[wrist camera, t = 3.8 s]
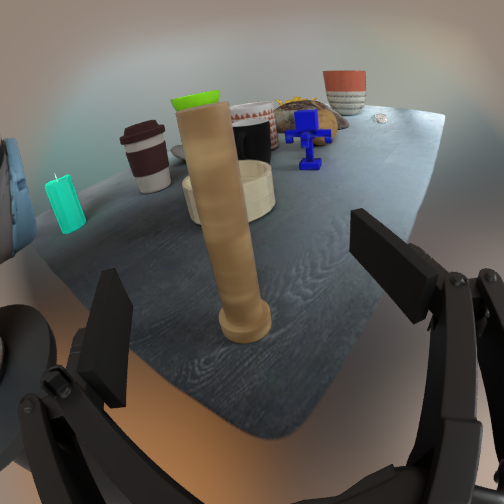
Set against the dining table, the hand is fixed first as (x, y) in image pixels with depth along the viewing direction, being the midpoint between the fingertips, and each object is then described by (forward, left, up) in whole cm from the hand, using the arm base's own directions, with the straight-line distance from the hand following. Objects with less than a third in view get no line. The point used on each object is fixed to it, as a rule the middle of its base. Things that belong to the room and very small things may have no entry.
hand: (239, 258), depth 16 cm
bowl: (+13, +27, -10) cm, 32 cm away
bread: (+69, +72, -11) cm, 100 cm away
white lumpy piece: (+106, +63, -11) cm, 124 cm away
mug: (+27, +43, -11) cm, 52 cm away
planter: (+103, +80, -11) cm, 131 cm away
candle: (-13, +49, -11) cm, 52 cm away
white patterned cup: (+37, +58, -11) cm, 70 cm away
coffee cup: (+7, +52, -11) cm, 54 cm away
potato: (+51, +46, -11) cm, 69 cm away
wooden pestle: (+2, +5, -10) cm, 12 cm away
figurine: (+35, +33, -11) cm, 49 cm away
